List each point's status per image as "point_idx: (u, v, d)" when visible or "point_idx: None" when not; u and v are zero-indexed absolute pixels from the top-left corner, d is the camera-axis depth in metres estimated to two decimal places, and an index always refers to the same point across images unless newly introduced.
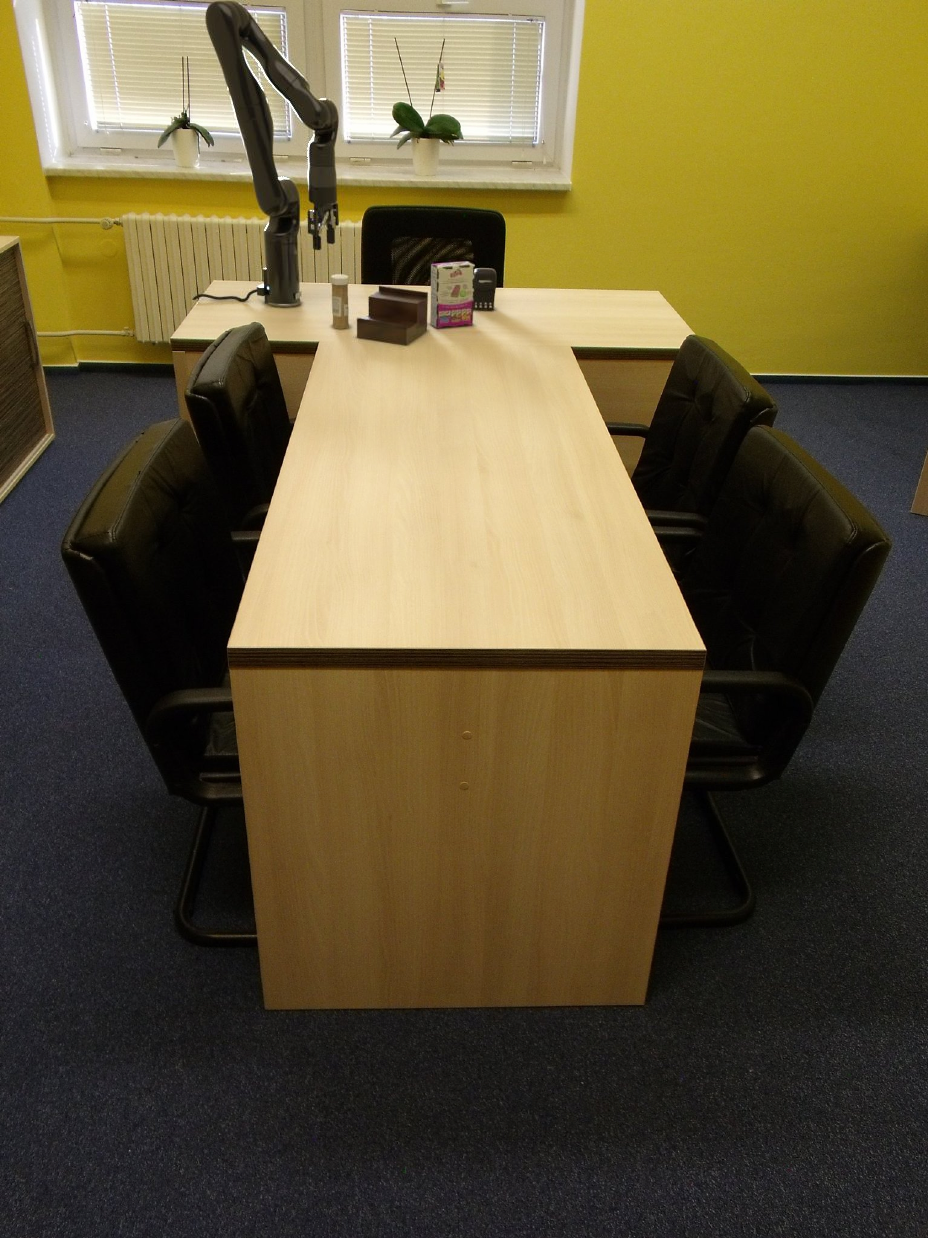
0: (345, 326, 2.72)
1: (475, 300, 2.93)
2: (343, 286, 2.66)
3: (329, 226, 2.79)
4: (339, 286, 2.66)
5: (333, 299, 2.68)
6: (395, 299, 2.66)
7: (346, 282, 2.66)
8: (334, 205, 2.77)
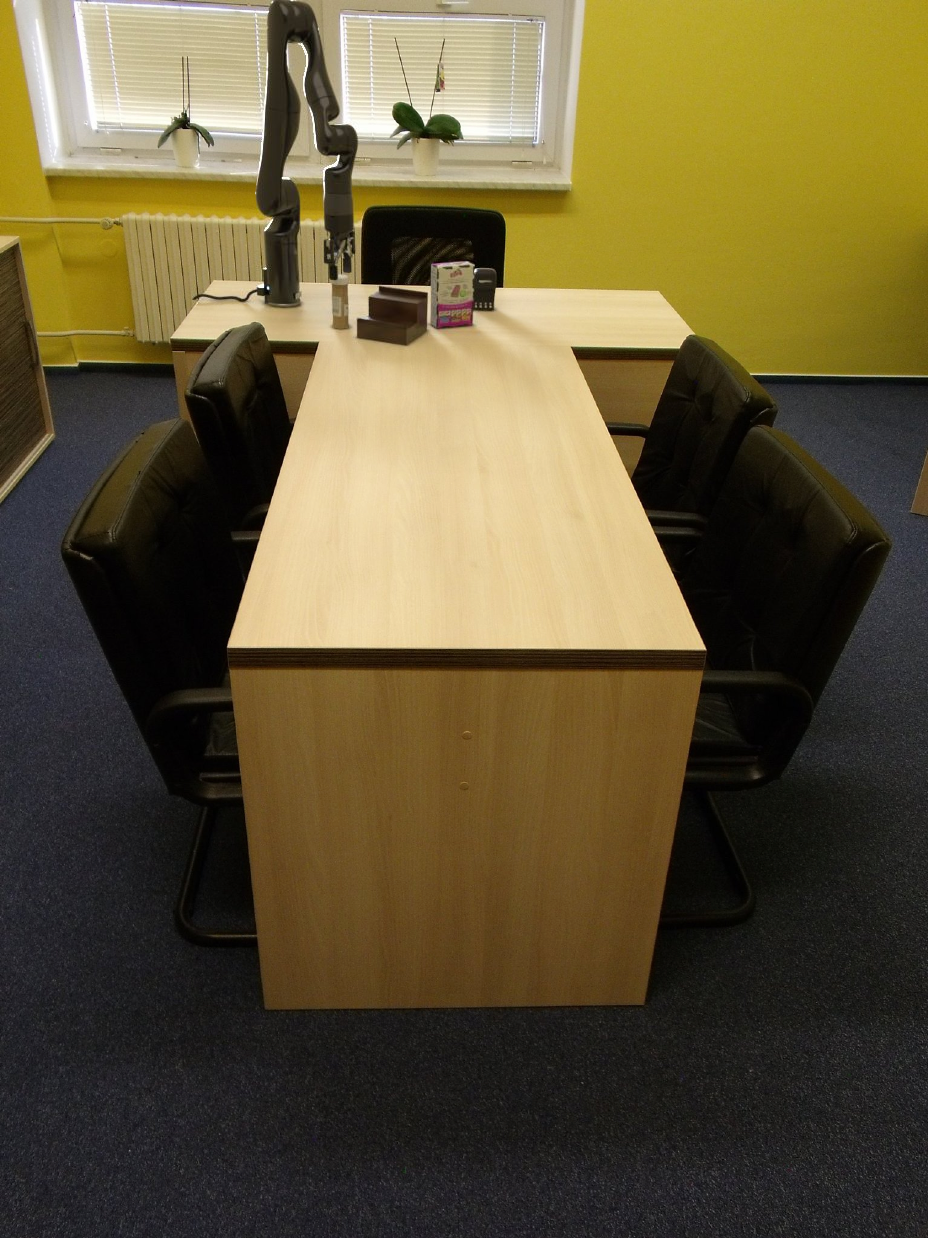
0: (345, 326, 2.72)
1: (475, 300, 2.93)
2: (343, 286, 2.66)
3: (345, 255, 2.67)
4: (339, 286, 2.66)
5: (333, 299, 2.68)
6: (395, 299, 2.66)
7: (346, 282, 2.66)
8: (350, 233, 2.66)
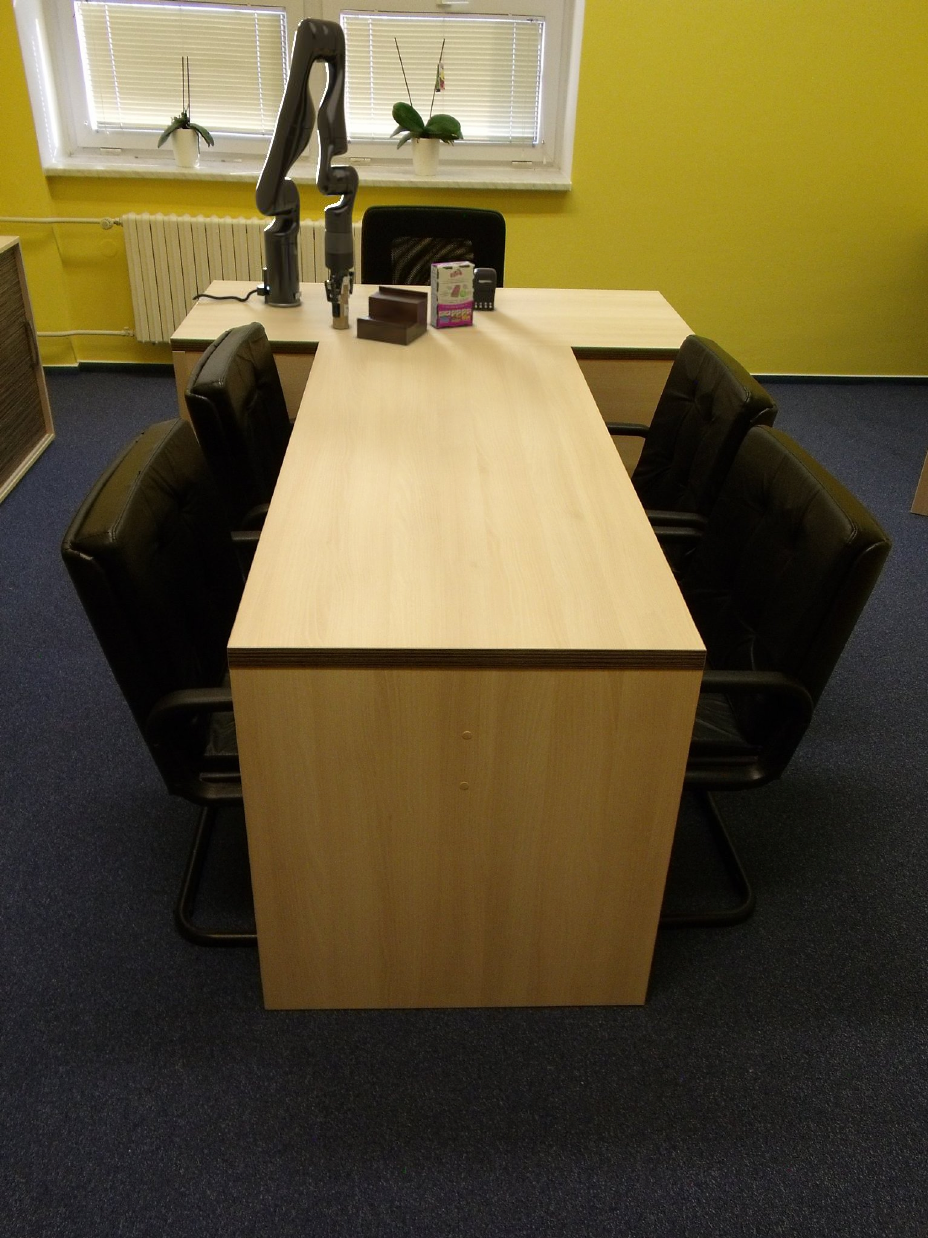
0: (345, 326, 2.72)
1: (475, 300, 2.93)
2: (343, 286, 2.66)
3: None
4: None
5: None
6: (395, 299, 2.66)
7: (346, 282, 2.66)
8: (350, 273, 2.71)
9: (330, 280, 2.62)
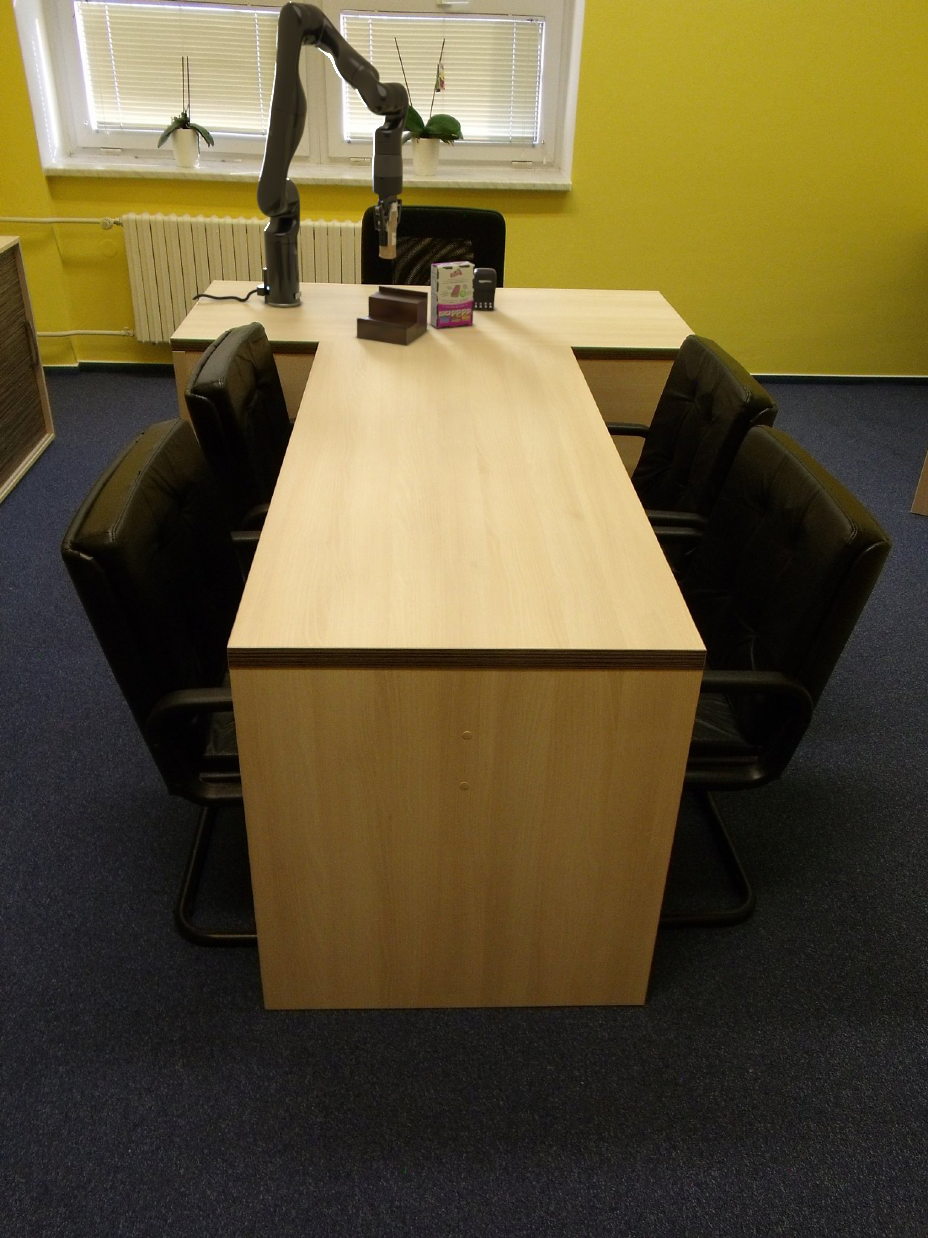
0: (392, 256, 2.61)
1: (475, 300, 2.93)
2: None
3: None
4: None
5: None
6: (395, 299, 2.66)
7: (394, 209, 2.55)
8: (398, 200, 2.60)
9: (378, 205, 2.51)
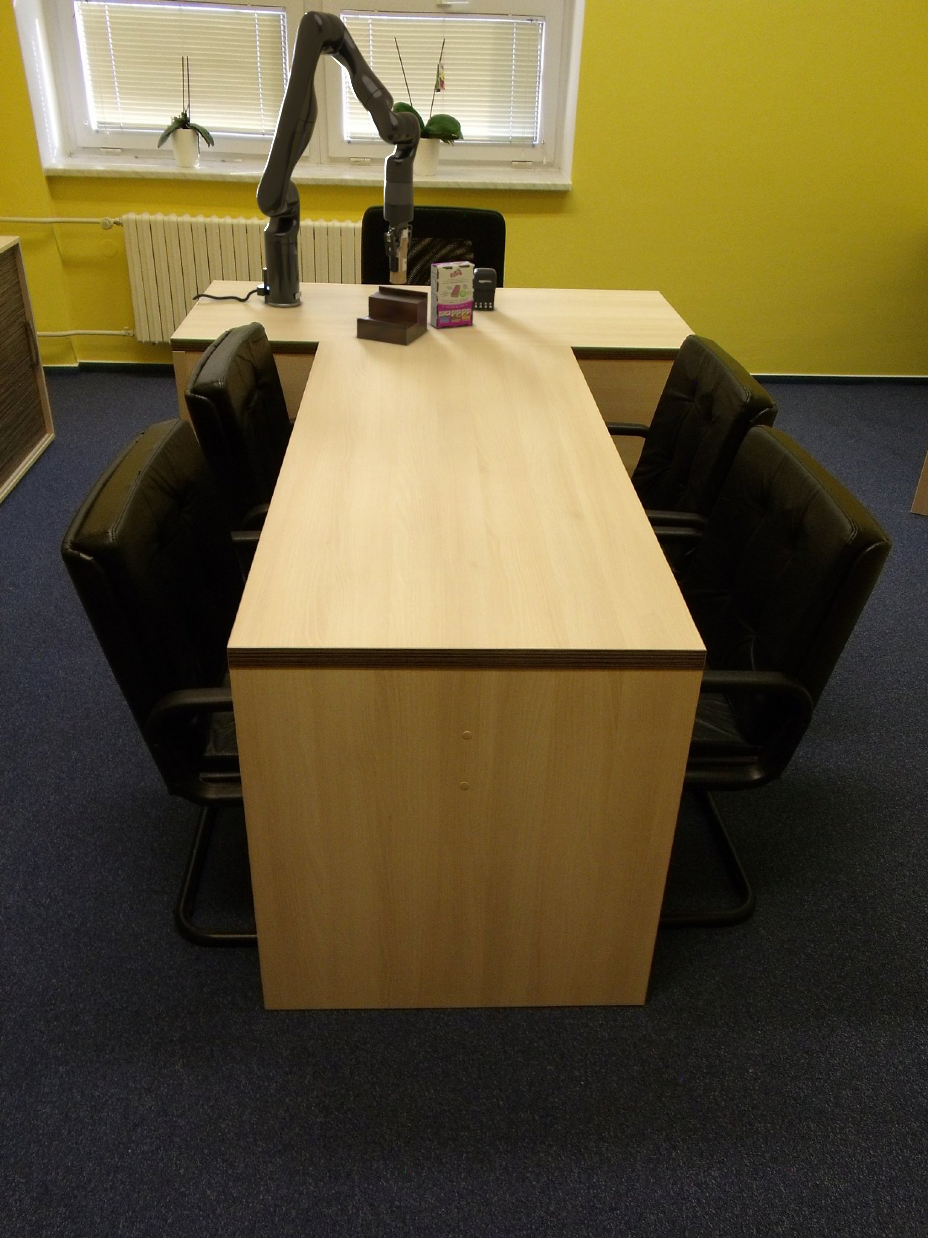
0: (403, 281, 2.64)
1: (475, 300, 2.93)
2: (402, 239, 2.59)
3: None
4: None
5: None
6: (395, 299, 2.66)
7: (405, 235, 2.59)
8: (409, 226, 2.63)
9: (390, 232, 2.54)
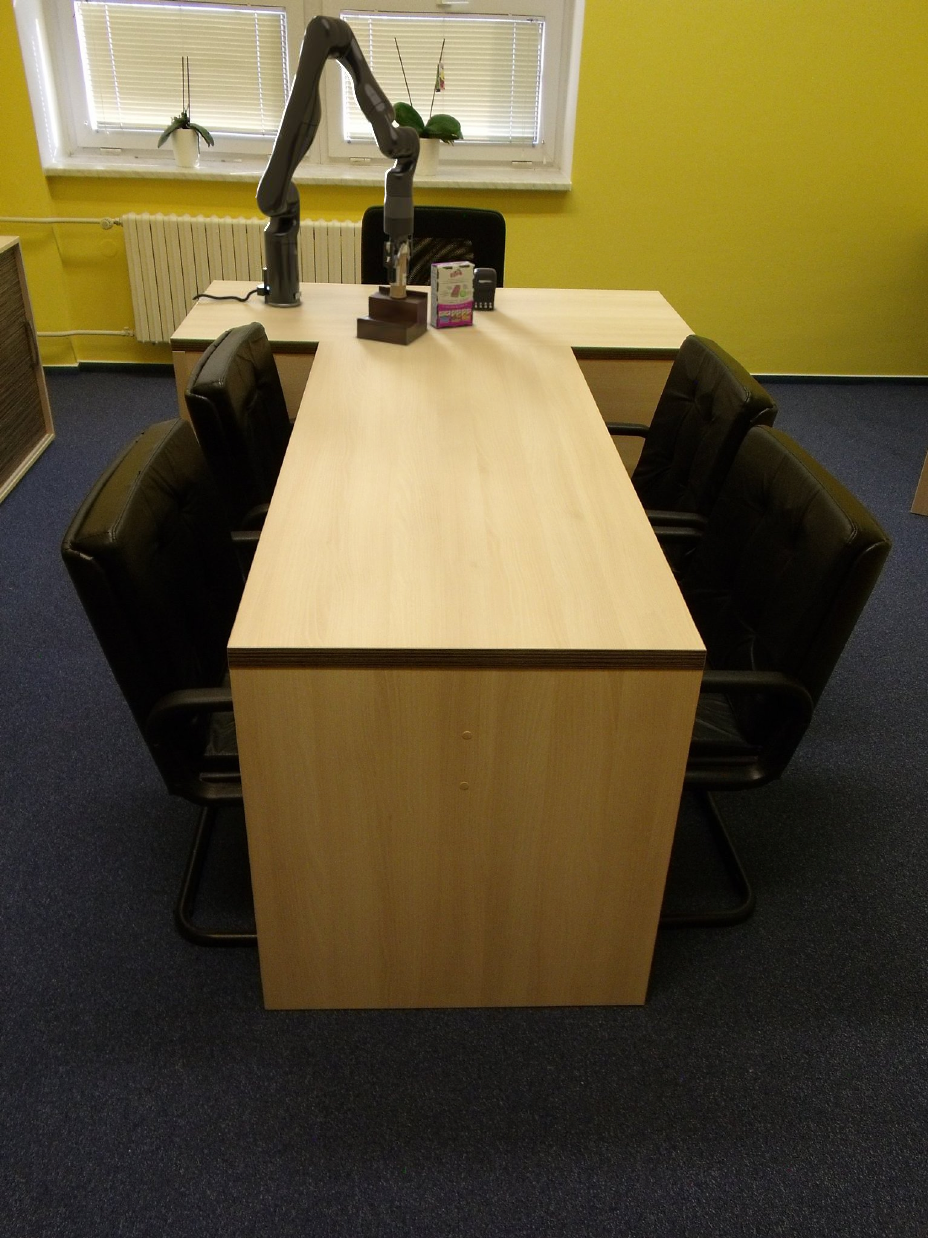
0: (403, 296, 2.66)
1: (475, 300, 2.93)
2: (402, 254, 2.61)
3: None
4: None
5: None
6: (395, 299, 2.66)
7: (405, 250, 2.61)
8: (409, 236, 2.65)
9: (390, 242, 2.56)
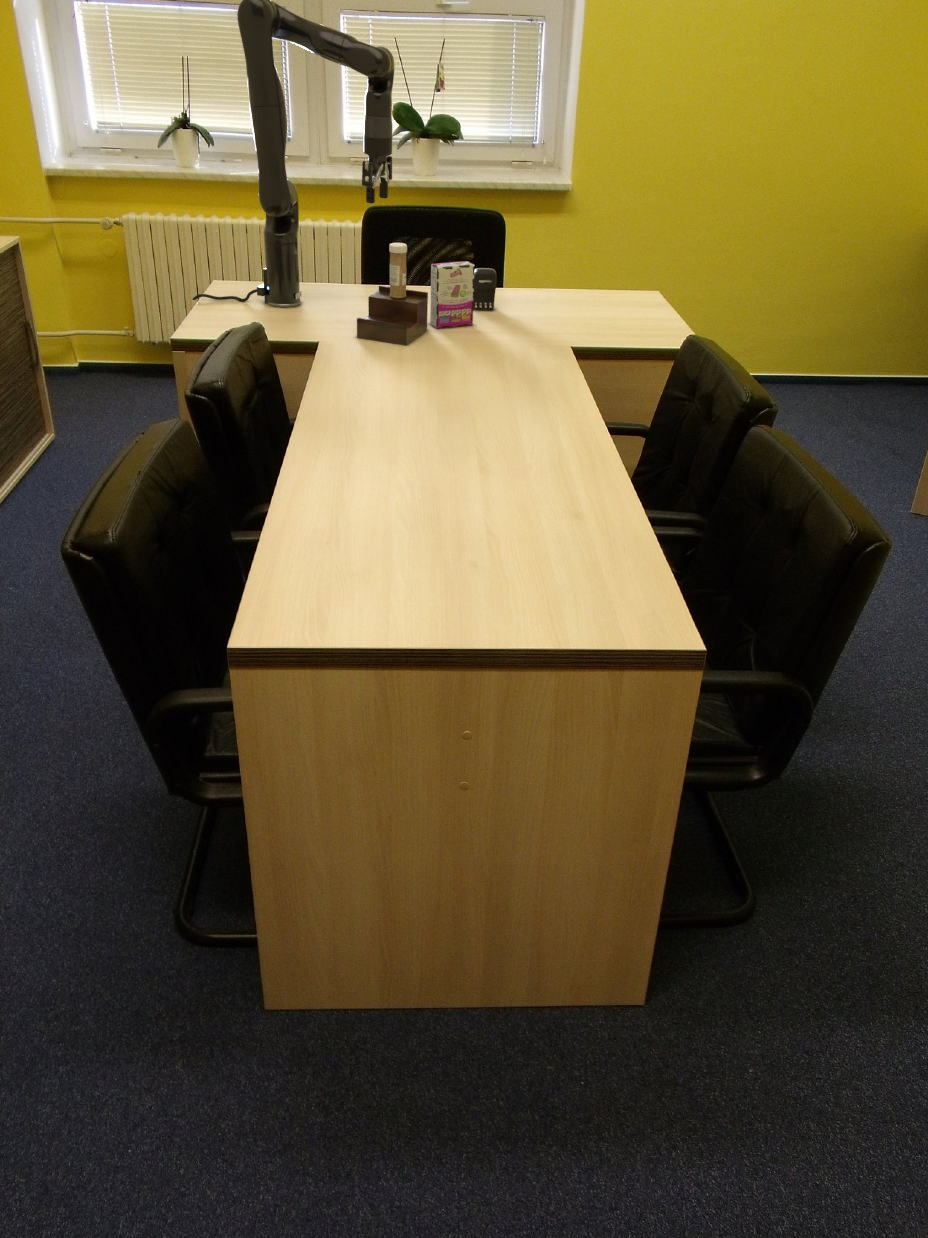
0: (403, 296, 2.66)
1: (475, 300, 2.93)
2: (402, 254, 2.61)
3: (382, 180, 2.73)
4: (398, 254, 2.60)
5: (391, 268, 2.63)
6: (395, 299, 2.66)
7: (405, 250, 2.61)
8: (388, 158, 2.72)
9: (368, 161, 2.62)
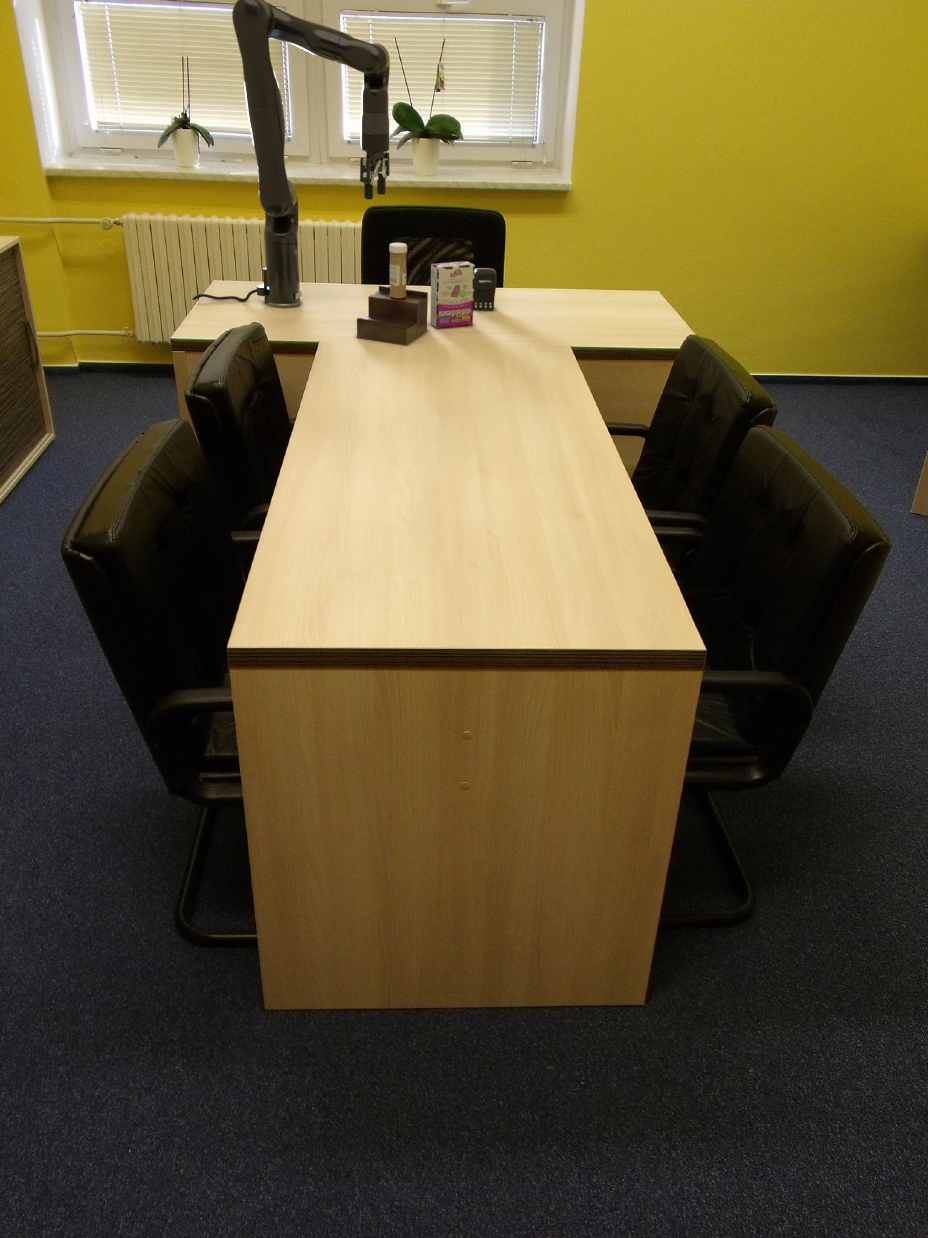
0: (403, 296, 2.66)
1: (475, 300, 2.93)
2: (402, 254, 2.61)
3: (380, 176, 2.75)
4: (398, 254, 2.60)
5: (391, 268, 2.63)
6: (395, 299, 2.66)
7: (405, 250, 2.61)
8: (385, 154, 2.73)
9: (366, 157, 2.64)
